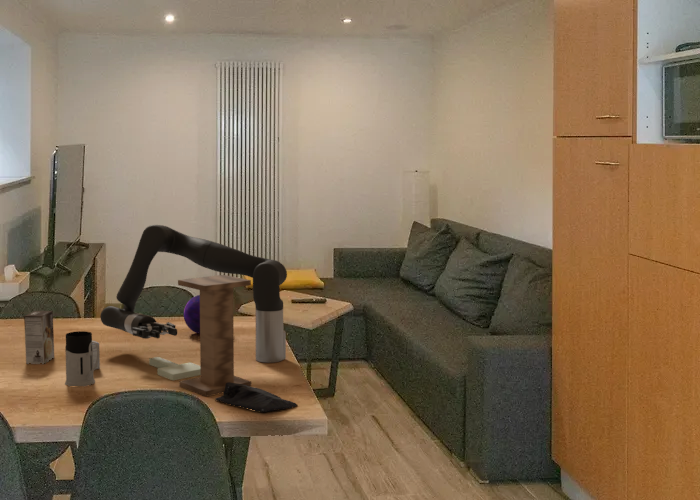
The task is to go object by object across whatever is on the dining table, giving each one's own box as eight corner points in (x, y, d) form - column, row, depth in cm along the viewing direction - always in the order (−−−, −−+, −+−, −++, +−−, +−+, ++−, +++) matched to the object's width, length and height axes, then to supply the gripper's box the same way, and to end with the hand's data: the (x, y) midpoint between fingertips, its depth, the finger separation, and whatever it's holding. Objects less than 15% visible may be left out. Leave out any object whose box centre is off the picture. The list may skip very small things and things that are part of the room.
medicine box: (94, 366, 284) (93, 340, 283) (100, 369, 280) (99, 342, 279) (70, 370, 279) (69, 343, 278) (76, 373, 275) (75, 346, 274)
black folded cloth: (257, 419, 233) (257, 401, 232) (210, 401, 249) (210, 384, 248) (302, 407, 243) (302, 391, 243) (254, 390, 259) (254, 375, 259)
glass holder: (84, 377, 270) (82, 329, 268) (112, 385, 261) (110, 336, 260) (58, 383, 264) (57, 334, 262) (86, 392, 255) (85, 341, 253)
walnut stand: (223, 376, 272) (223, 274, 269) (251, 386, 262) (250, 280, 258) (179, 386, 262) (177, 279, 258) (205, 396, 251) (204, 285, 248)
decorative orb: (210, 327, 344) (210, 290, 342) (231, 334, 332) (231, 295, 331) (176, 332, 334) (176, 294, 332) (196, 339, 323) (196, 299, 321)
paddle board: (169, 360, 292) (169, 354, 291) (206, 374, 276) (206, 368, 276) (137, 366, 284) (137, 360, 283) (172, 380, 268) (172, 374, 268)
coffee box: (36, 357, 295) (34, 310, 293) (54, 357, 294) (53, 310, 292) (25, 364, 285) (23, 315, 284) (44, 364, 285) (43, 315, 283)
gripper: (120, 317, 287) (147, 325, 274) (159, 311, 296) (186, 319, 284) (121, 339, 287) (147, 348, 275) (159, 333, 297) (187, 342, 285)
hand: (167, 333), depth 280 cm, fingers open, 5 cm apart
